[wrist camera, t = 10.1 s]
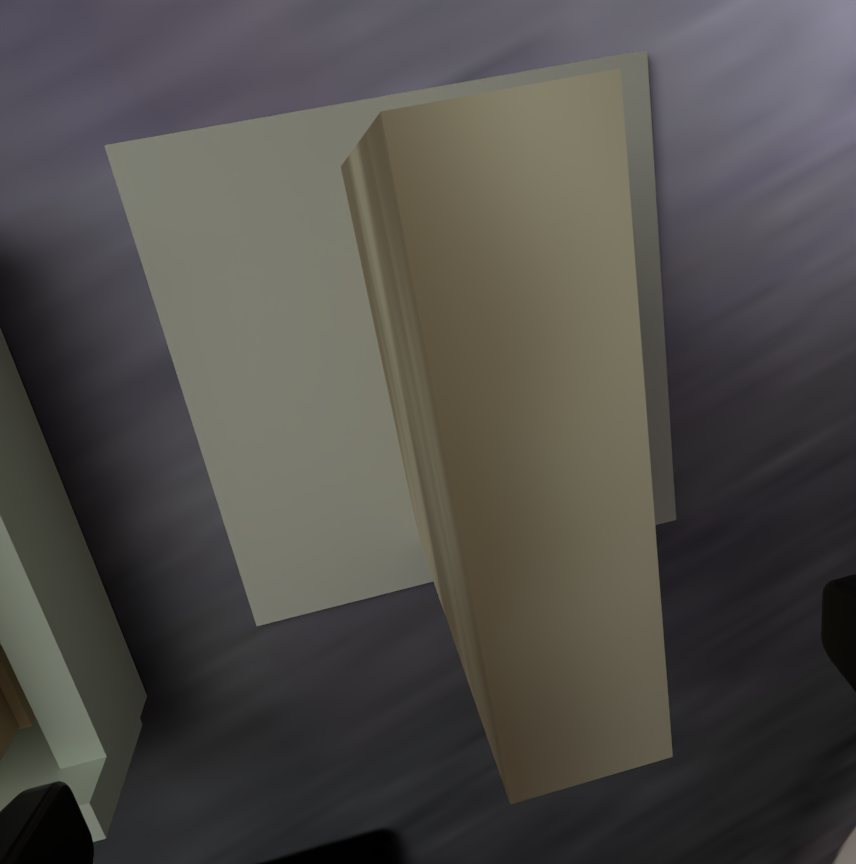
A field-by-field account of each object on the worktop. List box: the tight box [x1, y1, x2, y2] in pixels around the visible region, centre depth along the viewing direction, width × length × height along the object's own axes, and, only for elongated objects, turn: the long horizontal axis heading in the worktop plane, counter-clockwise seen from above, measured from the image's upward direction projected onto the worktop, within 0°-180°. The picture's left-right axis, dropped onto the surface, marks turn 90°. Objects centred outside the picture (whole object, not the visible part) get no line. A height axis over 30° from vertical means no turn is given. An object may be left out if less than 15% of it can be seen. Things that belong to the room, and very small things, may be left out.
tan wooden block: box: [341, 68, 673, 804], centre depth 15 cm, size 3×11×10 cm, turn 10°
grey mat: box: [104, 50, 676, 626], centre depth 19 cm, size 14×14×1 cm
